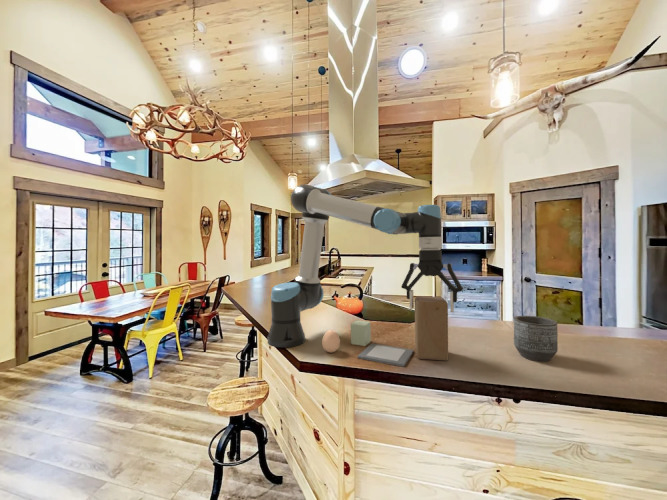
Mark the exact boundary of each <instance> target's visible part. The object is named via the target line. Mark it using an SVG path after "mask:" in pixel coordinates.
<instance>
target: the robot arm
mask: <svg viewBox="0 0 667 500" xmlns="http://www.w3.org/2000/svg"><path fill="white" fill-rule="evenodd" d="M290 202H291V206H292V207H293V208H294V210H296V211H297V212H299V213H302V216H301V218H302V219H303V220H304V229H303V237H302V244H301V252H300V261H299V270H298V271H299V272H298V275H297V276H296V277H294V282H291V281H289V282H284V283H283V282H282V283H279V284H276V285H274V286H272V289H271V295H270V304H271V311H270V312H271V325H270V328H269V332H268V335H267V344H268V345H269V346H271V347H274V348H292V347H297V346H300V345H302V344H303V343H304V342H306V341H305V340H306V335H305V332H304V327H303V326H302V322H301V312H303V311H306V310H311V309H314V308H315V307H317V306H318V305H320V304H321V302H322V301H323V298H324V289H323V287H322V285H321V279H320V278H319V269H320V262H321V253H322V252H321V251H322V245H323V238H324V229H325V225H326V223H328V222H329V217H332V218H335V219H339V220H343V221H346V222H349V223H352V224H356V225H360V226H363V227H366V228H371V229H374V230H377V231H379V232H381V233H385V234H388V235H406V234H418V248H419V251H418V257H419V258H418V263H414V262H412V263H410V264H409V270H408V272H407V274H406V276H405V278H404V280H403V282H402V284H401V289H403V290H405V291H406V299H407V300H409V309H410V310H413V309H415V300H414V289H412V288H413V287H414V286H415V285H416V284H417V283H418V281H420V279H422V277H423V276H425V277H437V276H438V278H439V279H441V281H442V282H443V283H444V284H445V285H446V286H447V287H448V288H449V290H450V293H449V294H450V302H449V303H450V313H454V309H455V308H454V307H455V306H454V305H455V304H454V303H457V302H458V293H459V292H462V291H463V286H462V284H461V282H460V281H459V279H458V277H457V275H456V274H455V272H454V269H453V265H452V263H451V262H449V263H444V264H443V258H442V255H443V253H442V250H441V249H442V215H441V214H442V213H441V207H440V206H439V205H437V204H424V205H419V206H418V208H417V211H415V212H404V213H403V212H400V211H397V210H395V209H393V208H392V209H391V208H387V207H386V208H385V207H383V206H382V207H381V206H377V205H374V204H369V203H366V202H360V201H357V200H353V199H349V198H344V197H340V196H335V195H333V194H332V193H331V192H330V191H328V190H326V189H324V188H321V187H317V186H314V185H311V184H305V183H304V184H300V185H297V186H296V187H295V188H294V189H293V190H292V192H291V195H290ZM417 268H418V270H419V271H420V272H419V273H418V274H417V275H416V276H415V277H414V278H413V280H411V278H412V275H413V273H414V272H415V270H417ZM444 268H445V270H446V271H447V272H448V273H449V276H450V278H451V279H452V281H453V283H454V284H455V286H456V287H455V286H454V284H453V283H452V281H450V280H449V279H448V278H447V276H445V274H444V273H443V272H442V270H443V269H444ZM410 280H411V282H410ZM409 282H410V284H409Z"/></svg>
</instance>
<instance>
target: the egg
mask: <svg viewBox="0 0 667 500" xmlns="http://www.w3.org/2000/svg"><path fill="white" fill-rule="evenodd" d="M321 345H322V348H323V350H324V351H326V352H328V353H335V352H337V350H338V349H339V348H340V345H341V339H340V336H339V334H338V333H337V332H336V331H334V330H330V329H329V330H327V331H326V332H325V333H324V335H323V337H322V339H321Z"/></svg>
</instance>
